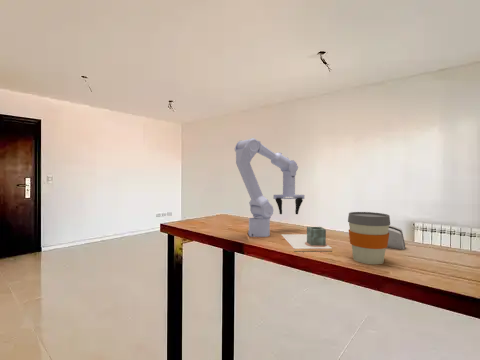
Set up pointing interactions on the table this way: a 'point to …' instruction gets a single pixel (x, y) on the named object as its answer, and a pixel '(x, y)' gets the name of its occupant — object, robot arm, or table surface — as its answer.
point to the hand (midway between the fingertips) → (288, 214)
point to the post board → (302, 242)
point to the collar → (316, 236)
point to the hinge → (395, 238)
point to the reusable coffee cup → (368, 236)
